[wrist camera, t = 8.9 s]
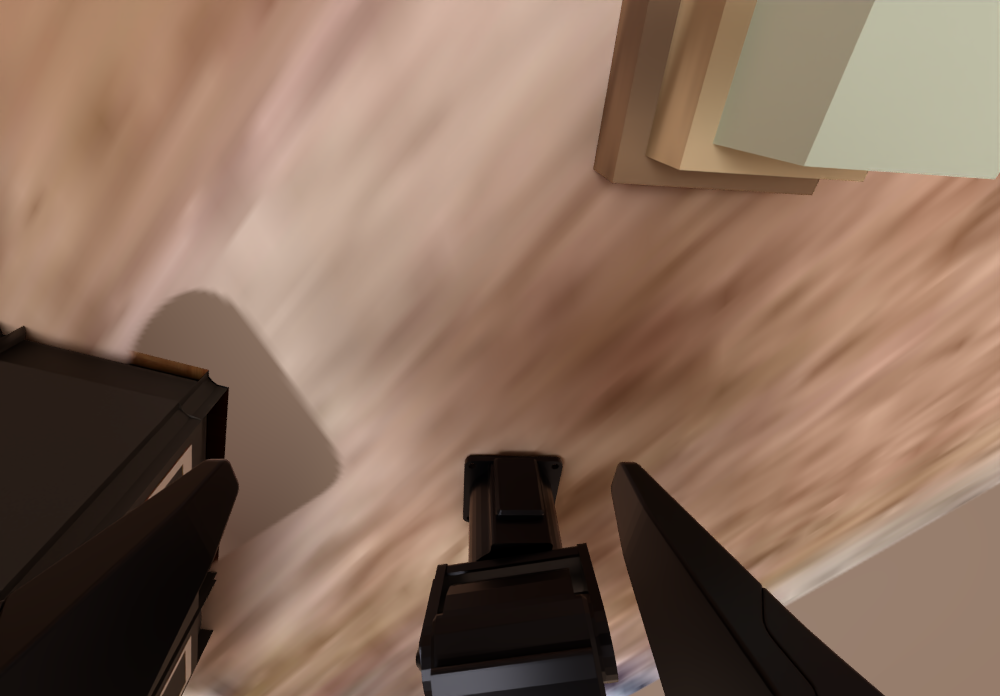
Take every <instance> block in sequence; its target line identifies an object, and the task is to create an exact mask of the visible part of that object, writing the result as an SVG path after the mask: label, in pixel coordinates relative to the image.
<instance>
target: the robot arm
mask: <svg viewBox="0 0 1000 696" xmlns="http://www.w3.org/2000/svg"><path fill="white" fill-rule="evenodd" d="M471 463H474V464H471ZM553 464H554V465H553ZM562 467H563V466H562V461H561V459H560V458H559V457H525V456H469V457H467V458H466V459H465V471H464V507H463V519H464V520H465V521H466V522H469V562H467V563H460V564H454V565H448V564H442V565H438V566H437V571H436V575H435V579H433V583H432V587H431V592H430V596H429V601H428V605H427V610H426V614H425V619H424V623H423V628H422V632H421V637H420V641H419V648H418V651H417V654H416V665H417V667H418V668H419V669H420V671H421V673H422V683H423V689H424V694H425V696H606V692H605V687H604V683H613V682H618V673H617V666H616V661H615V655H614V650H613V645H612V640H611V636H610V631H609V627H608V622H607V618H606V614H605V610H604V606H603V602H602V599H601V595H600V591H599V588H598V584H597V581H596V577H595V573H594V570H593V566H592V562H591V559H590V555H589V552H588V548H587V544H586V543H583V544H577V546H574V547H568V548H562V543H561V537H560V532H559V527H558V521H557V516H556V510H555V505H554V504H555V500H556V495H557V490H558V486H559V481H560V476H561V472H562ZM238 490H239V484H238V480H237V478H236V476H235V473H234V471H233V468H232V466H231V464H230V462H229V461H228V460H226V459H208V460H205V461H203V462H202V463H200V464H199V465H197V466H196V467H194V468H193V469H191V470H190V471H189V472H187V473H186V474H184V475H183V476H181V477H180V478H178V479H177V480H175V481H174V482H173V483H171V484H170V485H168V486H167V487H165V488H164V489H162V490H161V491H159V492H158V493H157V494H155V495H154V496H152V497H151V498H149V499H148V500H146V501H145V502H143V503H142V504H141V505H139V506H138V507H136V508H135V509H133V510H132V511H130V512H129V513H128V514H126V515H125V516H123V517H122V518H120V519H119V520H117V521H116V522H114V523H113V524H112V525H110V526H109V527H107V528H106V529H104V530H103V531H101V532H100V533H98V534H97V535H96V536H94V537H93V538H91V539H90V540H88V541H87V542H85V543H84V544H82V545H81V546H80V547H78V548H77V549H75V550H74V551H72V552H71V553H69V554H68V555H66V556H65V557H64V558H62V559H61V560H59V561H58V562H56V563H55V564H53V565H52V566H50V567H49V568H48V569H46V570H45V571H43V572H42V573H40V574H39V575H37V576H36V577H35V578H33V579H32V580H30V581H29V582H27V583H26V584H24V585H23V586H21V587H20V588H19V589H17V590H16V591H14V592H13V593H11V594H10V595H8V596H7V597H6V599H5V600H2V601H0V696H148V695H149V693H150V691H151V689H152V687H153V685H154V682H155V680H156V678H157V676H158V674H159V672H160V670H161V668H162V666H163V664H164V662H165V660H166V658H167V656H168V653H169V651H170V649H171V647H172V645H173V643H174V641H175V639H176V637H177V635H178V633H179V631H180V629H181V627H182V625H183V622H184V620H185V618H186V616H187V614H188V612H189V610H190V608H191V606H192V604H193V602H194V600H195V598H196V596H197V593H198V591H199V589H200V587H201V585H202V583H203V581H204V579H205V577H206V575H207V573H208V571H209V568H210V566H211V564H212V562H213V560H214V557H215V554H216V552H217V549H218V547H219V544H220V541H221V538H222V536H223V533H224V530H225V527H226V525H227V522H228V519H229V516H230V514H231V511H232V508H233V505H234V502H235V500H236V497H237V494H238ZM611 493H612V499H613V504H614V510H615V515H616V520H617V525H618V531H619V536H620V541H621V547H622V551H623V556H624V560H625V563H626V567H627V570H628V574H629V577H630V580H631V584H632V587H633V590H634V594H635V597H636V600H637V604H638V607H639V610H640V614H641V617H642V620H643V624H644V627H645V630H646V634H647V637H648V640H649V644H650V647H651V650H652V653H653V657H654V660H655V663H656V667H657V670H658V673H659V677H660V680H661V683H662V687H663V690H664V693H665V696H885V695H883V694H882V693H881V692H880V691H879V690H878V689H876V688H875V687H874V686H873V685H872V684H871V683H869V682H868V681H867V680H866V679H865V678H864V677H862V676H861V675H860V674H859V673H858V672H857V671H855V670H854V669H853V668H852V667H851V666H849V665H848V664H847V663H846V662H845V661H844V660H843V659H841V658H840V657H839V656H838V655H837V654H836V653H835V652H833V651H832V650H831V649H830V648H829V647H828V646H826V644H824V643H823V642H822V641H821V640H820V639H819V638H818V637H817V636H815V635H814V634H813V633H812V632H811V631H810V630H809V629H807V628H806V627H805V626H804V625H803V624H802V623H801V622H800V621H799V620H798V619H797V618H796V617H795V616H794V615H793V614H792V613H791V612H789V611H788V610H787V609H786V608H785V607H784V606H783V605H782V604H781V603H780V602H779V601H778V600H777V599H776V598H775V597H774V596H773V595H772V594H771V593H770V592H769V591H768V590H767V589H766V588H762V585H761V584H760V583H759V582H758V581H757V580H756V579H755V578H754V577H753V576H752V575H751V574H750V573H749V572H748V571H747V570H746V569H745V568H744V567H743V566H742V565H741V564H740V563H739V562H738V561H737V560H736V559H735V558H734V557H733V556H732V555H731V554H730V553H729V552H728V551H727V550H726V549H725V548H724V547H723V546H722V545H721V544H720V543H719V542H717V541H716V540H715V539H714V538H713V537H712V536H711V535H710V534H709V533H708V532H707V531H706V530H705V529H704V528H703V527H702V526H701V525H700V524H699V523H698V522H697V521H696V520H695V519H694V518H693V517H692V516H691V515H690V514H689V513H688V512H687V511H686V510H685V509H684V508H683V507H682V506H681V505H680V504H679V503H678V502H677V501H676V500H675V499H674V498H673V497H672V496H671V495H670V494H668V493H667V492H666V491H665V490H664V489H663V488H662V487H661V486H660V485H659V484H658V483H657V482H656V481H655V480H654V479H653V478H652V477H651V476H650V475H649V474H648V473H647V472H646V471H645V470H644V469H643V468H642V467H641V466H640V465H639V464H637V463H635V462H620V463H619V464H618V466H617V469H616V472H615V475H614V478H613V482H612V486H611Z"/></svg>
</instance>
